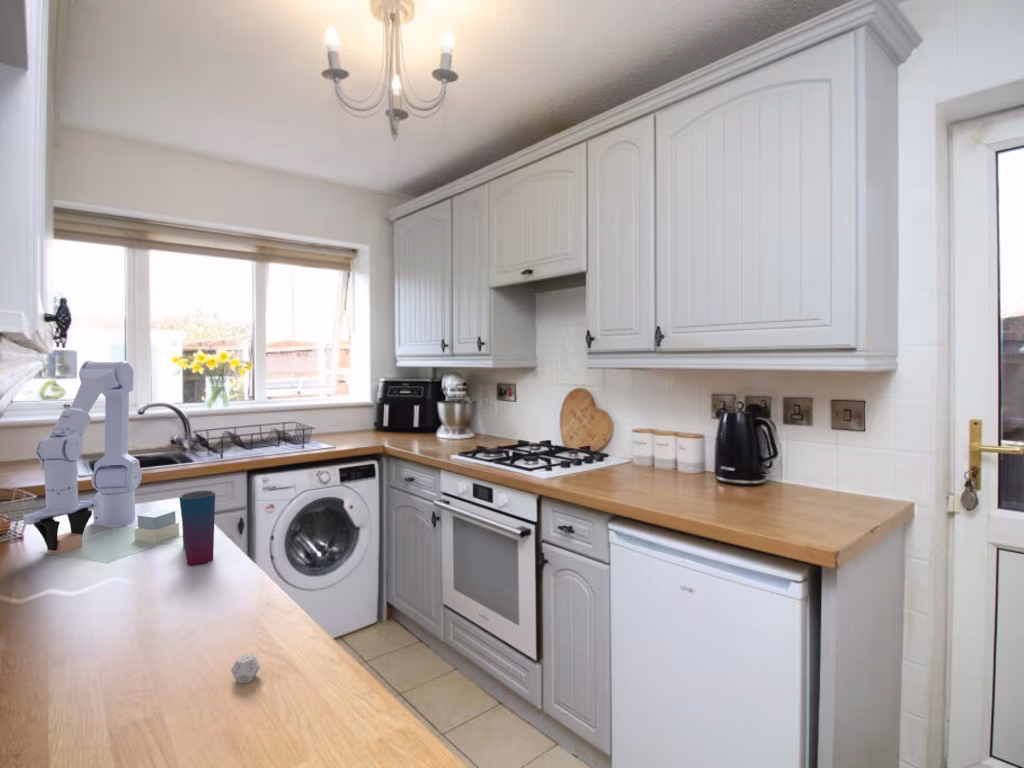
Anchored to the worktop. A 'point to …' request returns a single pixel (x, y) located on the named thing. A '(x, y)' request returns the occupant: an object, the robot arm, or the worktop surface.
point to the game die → (245, 668)
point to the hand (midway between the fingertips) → (64, 545)
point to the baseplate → (110, 545)
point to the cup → (198, 525)
